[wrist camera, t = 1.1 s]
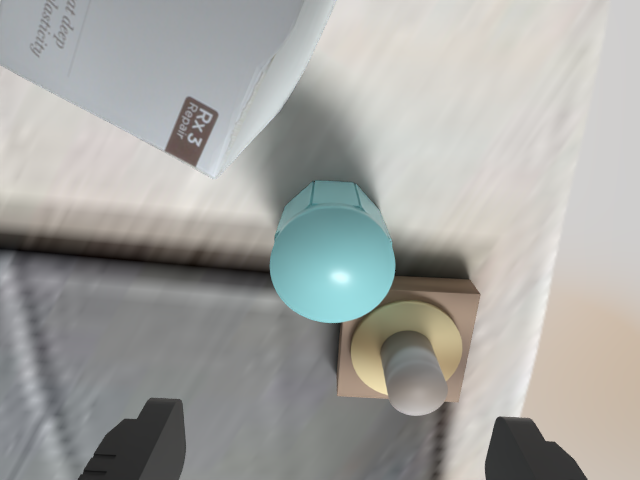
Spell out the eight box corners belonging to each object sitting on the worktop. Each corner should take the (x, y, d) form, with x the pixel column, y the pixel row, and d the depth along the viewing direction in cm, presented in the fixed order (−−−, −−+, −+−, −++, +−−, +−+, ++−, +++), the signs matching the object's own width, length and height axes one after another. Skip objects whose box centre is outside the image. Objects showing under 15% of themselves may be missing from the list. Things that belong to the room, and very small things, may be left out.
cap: (283, 176, 25) (270, 205, 19) (385, 182, 25) (402, 211, 19) (281, 269, 27) (269, 319, 21) (375, 274, 27) (388, 325, 21)
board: (344, 273, 27) (348, 323, 21) (469, 279, 27) (507, 332, 21) (336, 376, 30) (338, 444, 24) (450, 381, 30) (478, 452, 24)
